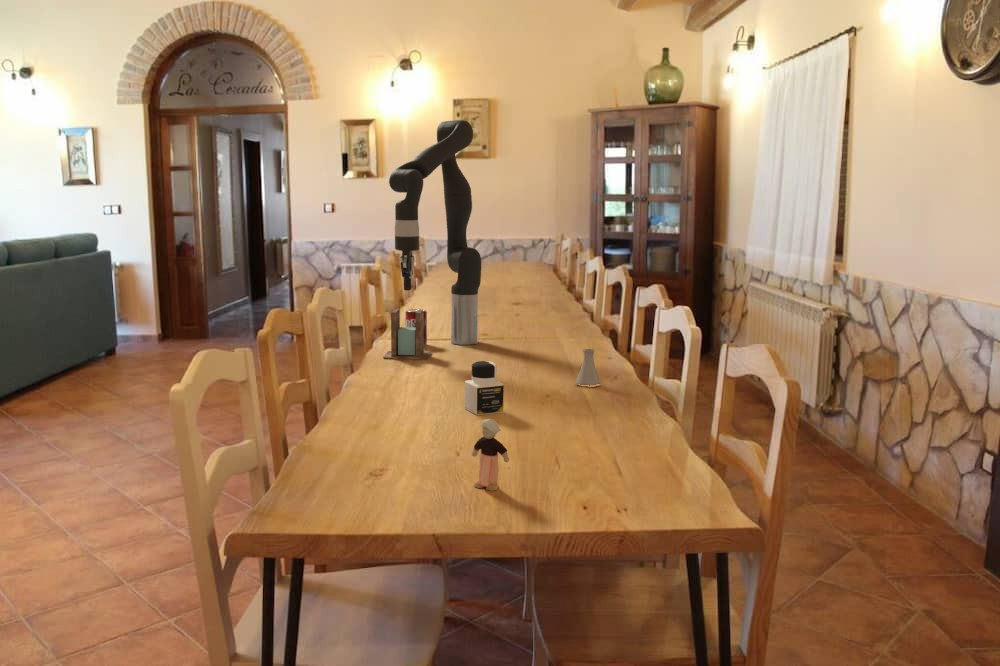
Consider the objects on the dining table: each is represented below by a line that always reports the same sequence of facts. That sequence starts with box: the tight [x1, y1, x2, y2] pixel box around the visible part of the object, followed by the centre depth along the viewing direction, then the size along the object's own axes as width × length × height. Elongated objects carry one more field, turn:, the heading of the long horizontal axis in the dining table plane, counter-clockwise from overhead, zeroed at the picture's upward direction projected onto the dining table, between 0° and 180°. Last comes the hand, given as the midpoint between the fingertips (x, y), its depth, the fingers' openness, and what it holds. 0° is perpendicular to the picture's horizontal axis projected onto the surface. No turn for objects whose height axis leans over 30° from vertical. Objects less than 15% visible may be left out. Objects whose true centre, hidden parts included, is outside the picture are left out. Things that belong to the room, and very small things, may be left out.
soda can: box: [404, 308, 428, 347], centre depth 287 cm, size 7×7×12 cm
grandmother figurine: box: [471, 418, 510, 492], centre depth 150 cm, size 8×4×13 cm, turn 69°
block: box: [398, 326, 416, 355], centre depth 268 cm, size 5×5×8 cm
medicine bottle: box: [464, 360, 505, 417], centre depth 202 cm, size 7×7×12 cm
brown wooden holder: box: [382, 308, 432, 361], centre depth 267 cm, size 14×10×15 cm
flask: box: [575, 348, 601, 386], centre depth 231 cm, size 7×7×10 cm
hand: (407, 290), depth 265 cm, fingers closed
